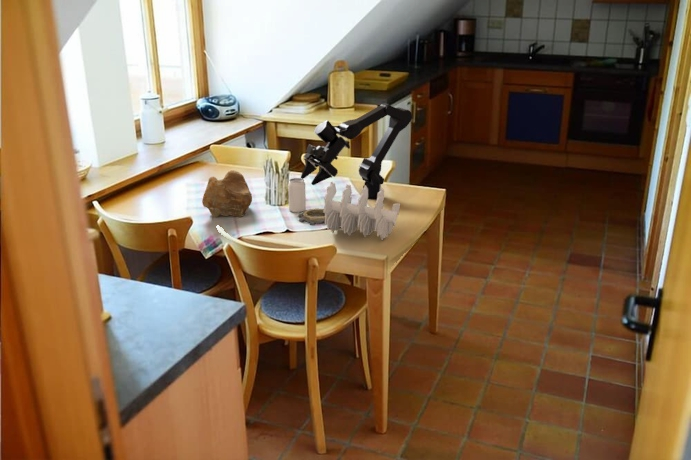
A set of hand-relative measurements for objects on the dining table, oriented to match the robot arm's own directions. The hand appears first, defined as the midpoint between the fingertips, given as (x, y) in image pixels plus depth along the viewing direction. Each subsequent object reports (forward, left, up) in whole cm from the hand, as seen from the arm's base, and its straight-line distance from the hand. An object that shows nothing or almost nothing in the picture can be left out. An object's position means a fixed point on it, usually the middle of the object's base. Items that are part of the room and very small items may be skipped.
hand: (306, 181), depth 249 cm
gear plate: (-7, +10, -11) cm, 16 cm away
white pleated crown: (-26, +22, -11) cm, 36 cm away
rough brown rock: (+26, +12, -11) cm, 31 cm away
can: (+3, +3, -11) cm, 12 cm away
